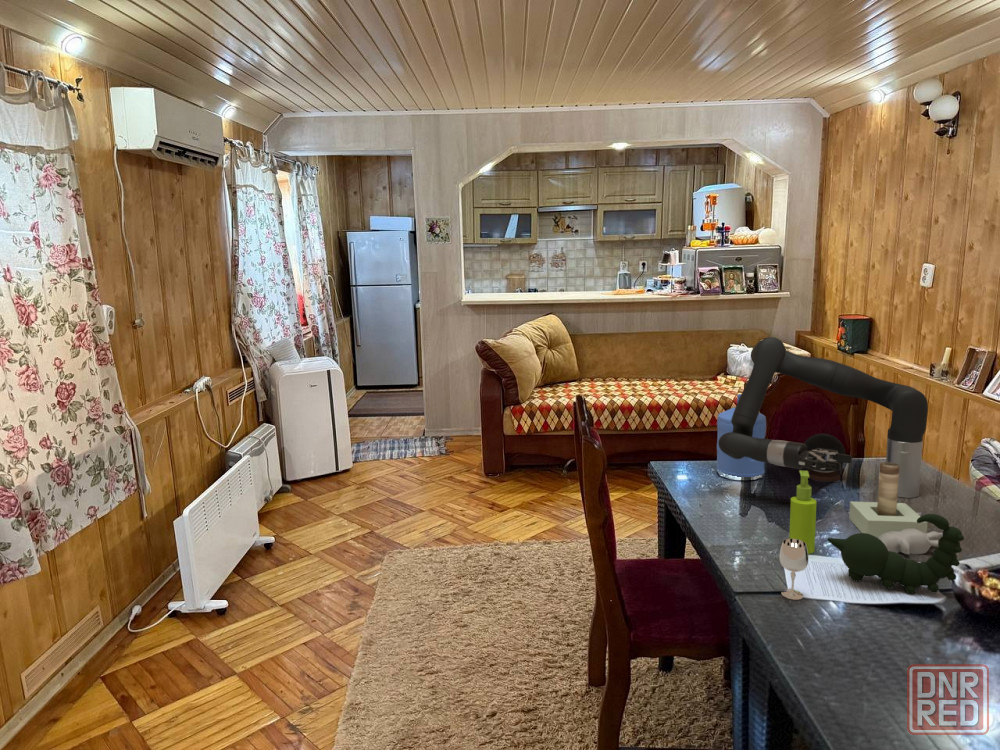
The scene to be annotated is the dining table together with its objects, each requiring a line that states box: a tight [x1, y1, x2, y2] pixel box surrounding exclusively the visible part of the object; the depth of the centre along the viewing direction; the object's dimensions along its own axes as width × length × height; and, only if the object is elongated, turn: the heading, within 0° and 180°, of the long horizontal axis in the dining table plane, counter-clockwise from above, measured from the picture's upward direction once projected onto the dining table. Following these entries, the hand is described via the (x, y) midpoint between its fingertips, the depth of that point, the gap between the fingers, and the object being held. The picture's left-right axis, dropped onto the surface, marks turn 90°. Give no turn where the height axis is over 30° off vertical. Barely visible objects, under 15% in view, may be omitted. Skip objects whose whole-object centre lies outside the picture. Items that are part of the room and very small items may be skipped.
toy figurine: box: [826, 513, 965, 595], centre depth 145 cm, size 9×19×25 cm
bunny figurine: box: [878, 528, 940, 555], centre depth 163 cm, size 10×5×15 cm
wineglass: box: [778, 538, 809, 601], centre depth 143 cm, size 6×6×12 cm
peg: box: [877, 461, 900, 516], centre depth 175 cm, size 4×4×18 cm
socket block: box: [848, 501, 929, 538], centre depth 176 cm, size 14×14×5 cm
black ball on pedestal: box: [803, 433, 846, 481], centre depth 219 cm, size 13×13×15 cm
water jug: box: [715, 393, 767, 477], centre depth 223 cm, size 16×16×28 cm
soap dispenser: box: [788, 469, 818, 555], centre depth 165 cm, size 6×7×20 cm
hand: (846, 463), depth 182 cm, fingers open, 8 cm apart
